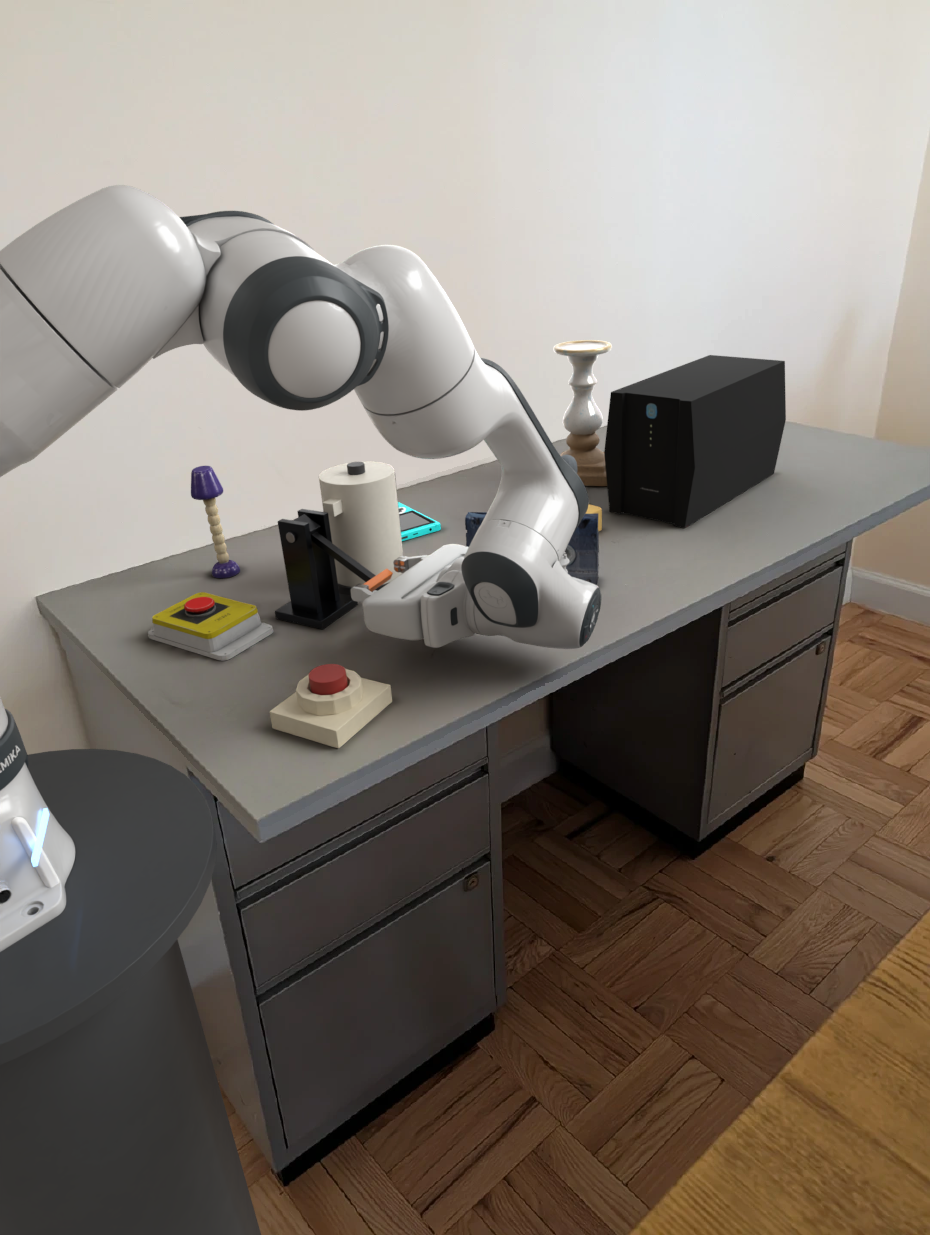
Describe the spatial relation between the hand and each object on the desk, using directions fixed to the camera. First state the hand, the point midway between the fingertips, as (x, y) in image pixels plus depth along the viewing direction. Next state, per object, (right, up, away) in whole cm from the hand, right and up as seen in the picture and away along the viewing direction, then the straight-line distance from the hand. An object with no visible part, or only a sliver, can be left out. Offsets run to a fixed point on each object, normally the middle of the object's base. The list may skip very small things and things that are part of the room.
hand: (376, 577), depth 114 cm
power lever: (-6, +2, +3) cm, 7 cm away
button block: (-3, -16, -15) cm, 22 cm away
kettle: (-3, 0, +16) cm, 16 cm away
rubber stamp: (+28, +9, +31) cm, 43 cm away
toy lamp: (-25, +1, +22) cm, 34 cm away
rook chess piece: (+24, -4, +4) cm, 24 cm away
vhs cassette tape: (+21, 0, +13) cm, 25 cm away
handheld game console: (-1, +10, +37) cm, 38 cm away
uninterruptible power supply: (+52, +17, +42) cm, 69 cm away
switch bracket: (-9, -4, +8) cm, 13 cm away
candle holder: (+33, +21, +53) cm, 66 cm away
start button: (-3, -13, -17) cm, 21 cm away
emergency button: (-22, -7, +4) cm, 24 cm away
